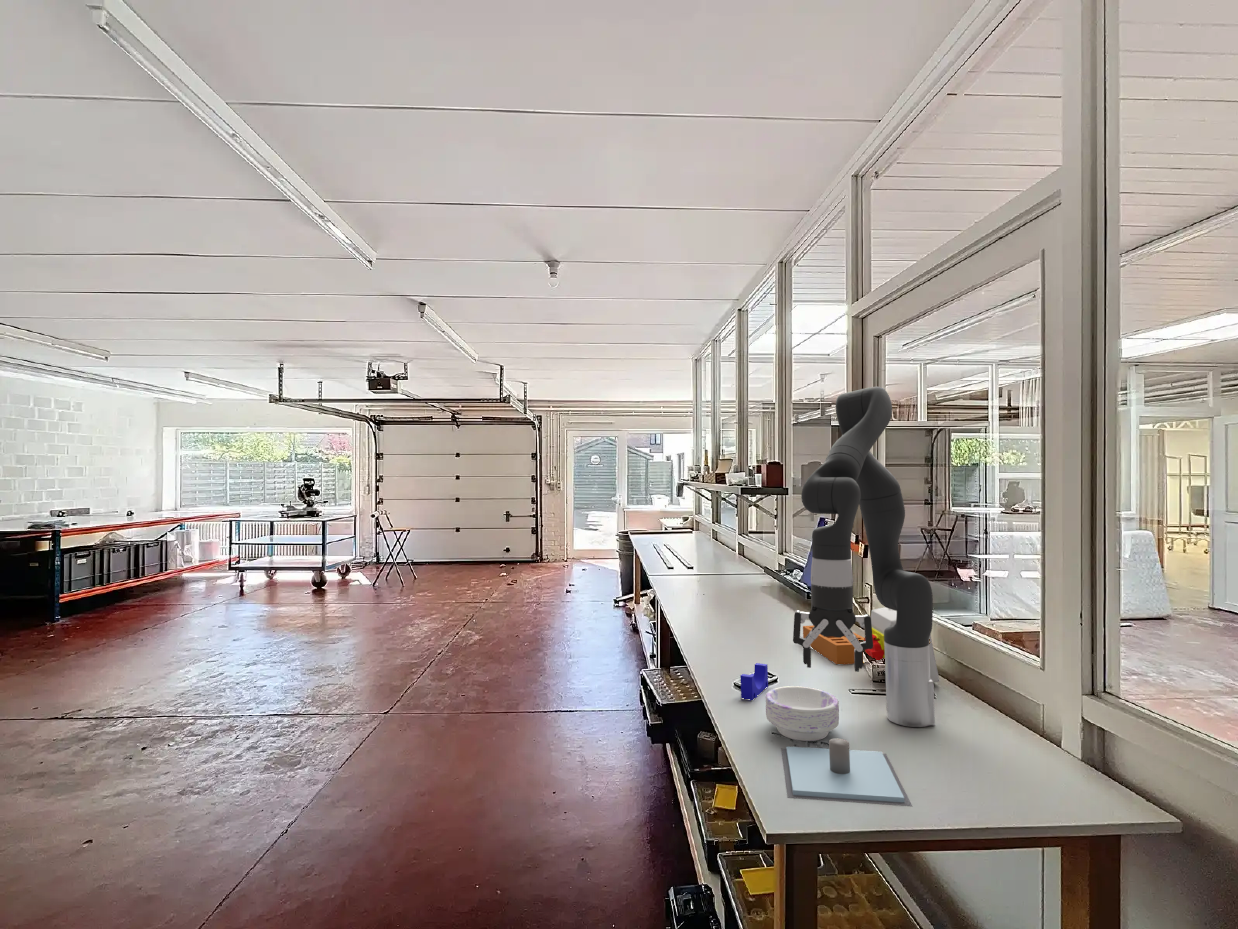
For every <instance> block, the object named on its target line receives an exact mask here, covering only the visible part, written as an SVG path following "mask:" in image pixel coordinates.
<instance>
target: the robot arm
mask: <svg viewBox="0 0 1238 929" xmlns="http://www.w3.org/2000/svg"><path fill="white" fill-rule="evenodd" d="M835 414H836V418H837V423H838V425H839V426H838V427H839V429H840V432H841V436H840V437H839V438H838V439H836V441H835V442H834V443H833V445H832V446H831V447H830V450H829V452H828V455H827V456H826V458H825V461H824V463H822V464H821V465H819V467H818V468H816V469H815V471H813V473H811V474H810V476H808V478H807V479H806V481H805V482H804V484H803V487H802V489H801V502H802V505H803V507H804V508H805V509H806V511H808V512H809V513H812V514H816V515H819V514H820V515H837V517H836V520H835V522H834V523H832V524H830V525H825V526H819V527H816V528H814V529H813V531H812V534H811V535H812V536H811V544H812V545H811V546H812V548H811V551H812V552H811V553H812V554H811V558H812V559H811V566H810V591H811V592H810V603H811V604H810V605H811V606H810V611H809V612H805V611H801V610H799V609H798V610H795V611H794V617H793V631H792V632H793V636H792V642H793V643H794V644H797V645H799V646H801V647H802V656H803V657H802V658H803V659H802V660H803V664H804V665H806V668H808V669H810V668H812V649H811V646H810V645H811V643H812V642H813V641H814V640H815V639H816V638H817V637H818V635H819V634H821V635H823V636H824V637H830V636H834V637H837V638H841V637H843V636H846V638H847V639H848V640H849V641H850V642H851V644H852V645H853V646H854V648H855V649H854V664H853V665H854V672H857V673H859V672H860V669H861V670H862V669H863V667H864V663H863V651H864V650H866V649H872V648H873V637H872V624H871V614H868V613H865V614H863V615H856V614H855V613H854V587H853V586H854V577H853V575H854V573H853V565H852V535H853V534H852V533H853V528H854V523H855V519H856V517H857V516H856V515H857V512H858V509H859V508H860V509H859V510H860V514H861V517H862V521H863V524H864V529H865V534H866V539H867V544H868V545H867V546H868V550H869V555H870V564H871V572H872V581H873V588H874V593H875V596H876V598H877V600H878V602H879V603H880V604H881V605H882V606H883V607H886V608H889V609H892V610H895V611H897V617H896V624H895V625H894V626H890V627H887V628H886V629H885V630H884V647H885V672H884V674H885V696H886V697H885V699H886V701H885V702H886V717H887V719H888V720H889V721H890V722H892V723H894V724H896V725H899V726H903V727H909V728H910V727H911V728H924V727H928V726H936V716H935V715H936V714H935V713H936V712H935V710H936V709H935V691H934V689H935V687H934V682H933V681H932V680H931V679H930V657H929V637H930V634H932V629H933V616H934V615H933V613H934V612H933V606H934V605H933V604H934V601H933V600H934V599H933V598H934V596H933V589H932V587H931V584H930V582H929V579H928V578H926V577H925V576H924V575H923V574H920V573H918V572H917V573H916V572H911V571H907V570H904V568H903V565H902V561H901V557H900V551H899V541H900V536H901V534H902V530H903V528H904V527H903V526H904V522H905V516H906V509H905V508H906V507H905V503H904V498H903V494H902V489H901V485H900V483H899V481H898V479H897V478H896V477H895V476H894V475H893V473H891V471H889V470H888V468H887V467H886V466H884V465H883V464H882V462H880V461H879V460H878V459H877V458H876V457H875V455H873V453H872V452H871V450H872V448H873V446H874V445H875V444H876V442H877V441H878V440H879V438H880V437H881V435H882V434H883V432H884V431H885V430H886V428H887V427H888V425H889V423H890V422H891V419H892V417H893V416H892V415H893V404H892V400H891V397H890V395H889V393H888V392H887V390H886V389H885V388H883V387H882V386H871V387H865V388H861V389H858V390H857V389H856V390H853V391H850V392H849V391H848V392H845V393H841V394H839V395H838V396H837V398H836V400H835ZM807 619H808V620H809V622H811V624H812V625H814V627H813V629H812V630H811V631H810V633H809V634H808V635H807V636H806V638H803V636H801V628H802V627H801V626H802V624H804V623H805V622H806V620H807ZM856 622H858V623H859V626H860V627H861V628H863V629H864V630H863V631H864V638H865V641H863V642H860V641H859V640H858V639H857V637H856V636H855V635H854V633H855V632H854V631H853V630H852V629H851V628H853V626H854V625H855V624H856ZM853 632H854V633H853Z"/></svg>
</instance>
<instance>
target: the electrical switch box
mask: <svg viewBox="0 0 1238 929" xmlns="http://www.w3.org/2000/svg"><path fill="white" fill-rule="evenodd" d="M896 617H897V611H895V610H892V609H889V608H886V607H885V606H883V607H878V608H875V609H871V611H870V618H871V624H872V637H873V648H872V649H866V650H865V652H866V653H867V654H868V655H869V656H871V657H872V658H875V659H876V660H880V659H882V658H885V647H884V630H885V629H886V628H887V627H890V626H894V625H895V624H896ZM931 634H932V633H931ZM931 634H930V637H929V639H930V642H931V643H930V644H929V657H930V679H931V680H932V681H933V683H939V682H940V676H939V671H938V665H937V662H936V661H937V660H936V656H935V650H934V645H933V640H932V635H931ZM864 641H865V637H864Z"/></svg>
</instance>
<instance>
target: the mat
mask: <svg viewBox="0 0 1238 929" xmlns="http://www.w3.org/2000/svg"><path fill="white" fill-rule="evenodd" d="M780 749H781V750H780V751H781V757H782V758H781V759H782V765H783V773H784V774H783V775H784V779H785V790H786V797H787V798H789V799H801V800H815V801H829V802H830V801H832V802H843V803H859V804H860V803H861V804H872V805H873V804H874V805H887V806H902V807H904V806H905V807H913V804H912V802H911V800H910V799H909V796H908V794H907V792H906V791H905V789H904V787H903V784H902V783H901V781H900V778H899V776H898V775H897V773H896V771H895V769H894V767H893V765H892V762H891V760H890V759H889V757H888V755H887V753H883V755H884V757H885V759H886V762H887V764H888V766H889V768H890V770H891V772H892V774H893V776H894V778H895V780H896V782H897V784H898V786H899V788H900V790H901V792H902V794H903V796H904V802H905V803H904V802H889V801H875V800H860V799H845V798H831V797H816V796H801V795H793V790H792V784H791V777H790V770H789V764H788V757H787V749H786V747H781V748H780Z"/></svg>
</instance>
